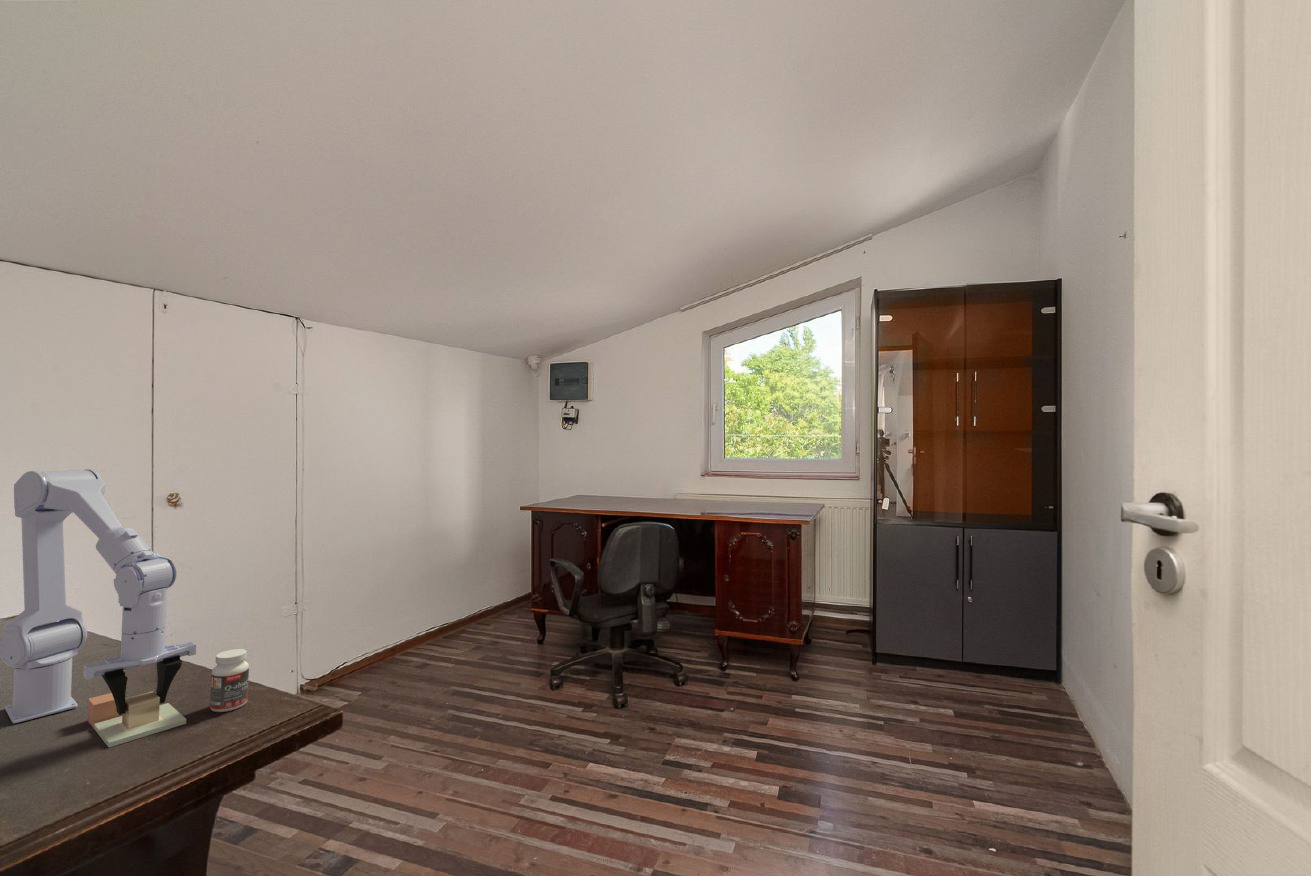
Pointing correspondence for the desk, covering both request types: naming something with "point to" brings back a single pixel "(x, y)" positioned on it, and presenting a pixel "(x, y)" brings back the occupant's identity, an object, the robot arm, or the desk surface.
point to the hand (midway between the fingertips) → (141, 706)
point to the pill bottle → (229, 681)
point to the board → (118, 733)
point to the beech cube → (141, 710)
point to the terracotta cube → (101, 709)
